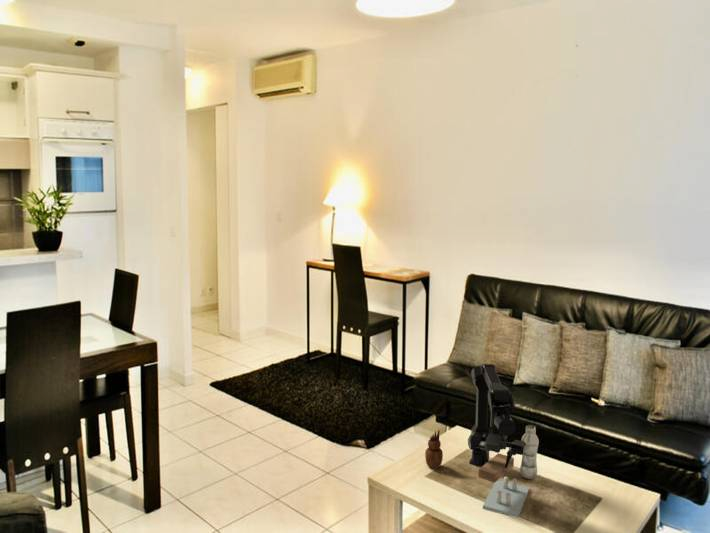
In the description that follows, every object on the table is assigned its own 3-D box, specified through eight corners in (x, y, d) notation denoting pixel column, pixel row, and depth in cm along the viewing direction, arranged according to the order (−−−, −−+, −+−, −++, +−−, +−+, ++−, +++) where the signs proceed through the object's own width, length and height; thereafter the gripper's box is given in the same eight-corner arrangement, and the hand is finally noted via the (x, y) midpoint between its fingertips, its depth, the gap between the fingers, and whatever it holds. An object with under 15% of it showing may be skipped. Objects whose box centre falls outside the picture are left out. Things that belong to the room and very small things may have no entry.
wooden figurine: (441, 463, 229) (442, 427, 227) (442, 470, 223) (443, 433, 221) (424, 462, 229) (425, 426, 227) (425, 469, 224) (426, 433, 222)
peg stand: (496, 482, 214) (496, 469, 213) (529, 490, 209) (529, 477, 208) (482, 508, 196) (483, 494, 196) (518, 517, 191) (519, 503, 190)
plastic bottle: (518, 479, 217) (521, 429, 214) (520, 471, 223) (523, 422, 220) (536, 482, 214) (539, 431, 212) (537, 474, 220) (540, 425, 218)
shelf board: (498, 460, 211) (498, 453, 210) (513, 465, 207) (513, 457, 207) (478, 477, 198) (478, 469, 198) (494, 482, 195) (495, 474, 194)
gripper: (466, 426, 198) (464, 469, 200) (520, 437, 189) (518, 482, 191) (475, 415, 208) (473, 456, 210) (527, 425, 199) (525, 468, 201)
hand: (496, 465), depth 202 cm, fingers closed on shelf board, 6 cm apart
